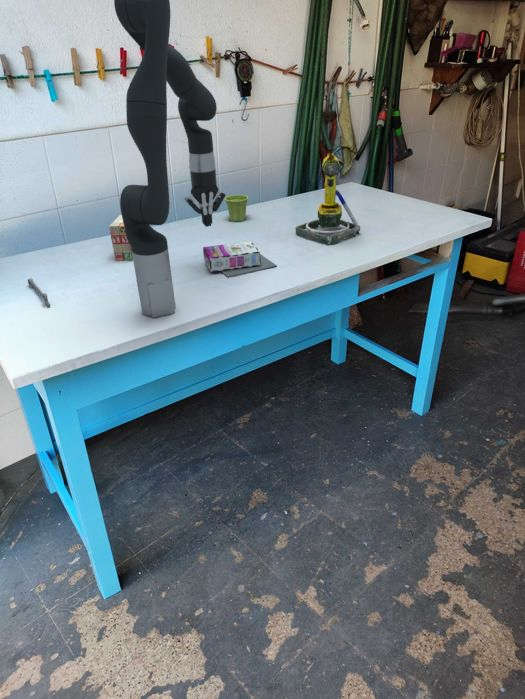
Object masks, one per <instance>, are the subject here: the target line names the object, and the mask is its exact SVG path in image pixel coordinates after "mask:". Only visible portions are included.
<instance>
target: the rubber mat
mask: <svg viewBox="0 0 525 699" xmlns="http://www.w3.org/2000/svg"><path fill="white" fill-rule="evenodd" d="M260 258H261V260H260V261H261V265H260V266H254V267H246V268H239V269H231V270H224V271H221V272H220V273H221V274H223V275H224V276H225V277H226V278H227V277H228V279H229V277H230V278H233V277H238V275H239V276H241V275H247V273H248V274H251V273H256V272H260V271H264V270H269V269H274V268H278V266H277V264H275V263H274V262H272V261H271V260H269V259H268V258H267V257H265V256H264V255H263V254H261V253H260Z"/></svg>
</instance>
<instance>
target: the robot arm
mask: <svg viewBox="0 0 525 699" xmlns="http://www.w3.org/2000/svg"><path fill="white" fill-rule="evenodd" d="M113 2H114V3H113V4H114V5H113V6H114V10H115V14H116V17H117V19H118V21H119V23H120V25H121V26H122V27H123V29H124V30H125V32H126V33H127V34H128V35H129V36H130V37H131V38H132V39H133V41H134V42H135V43H136V45H138V47H140V49H141V50H142V51H143V54H142V58H141V61H140V63H139V64H138V67H137V70H136V71H135V73H134V75H133V77H132V79H131V80H130V82H129V85H128V88H127V93H126V98H125V99H126V105H125V107H126V111H125V112H126V126H127V129H128V132H129V133H130V134H129V135H130V136H131V138H132V141H133V142H134V143H135V144H134V145H136V147H137V149H138V151H139V152H140V155H141V156H142V159H143V162H144V165H145V169H146V176H147V185H144V184H143V185H142V184H128V185H126V186H125V187H124V188H123V189H122V191H121V193H120V199H119V201H120V202H119V205H120V213H121V214H120V215H122V219H123V223H124V227H125V232H126V236H127V240H128V242H129V244H130V246H131V250H132V256H133V266H134V273H135V278H136V279H135V280H136V285H137V286H136V287H137V291H138V296H139V302H140V307H141V313H142V314H144V315H145V316H149V317H150V318H153V319H154V318H158V317H163V316H167V315H171V314H176V313H175V311H176V308H177V307H176V306H177V305H176V299H175V292H174V284H173V279H172V278H173V276H172V269H171V268H172V266H171V262H170V260H171V259H170V253H169V244H168V239H167V238H166V236H165V235H164V234H163V233H160V232H159V231H157V230H155V228H153V227H152V226H162V225H163V224H165V223H166V222H167V220H168V217H169V214H170V189H169V179H168V178H169V177H168V163H167V161H168V160H167V159H168V158H167V127H168V126H167V124H168V111H167V109H168V106H167V105H168V98H167V96H168V95H167V93H168V92H167V90H168V89H167V88H168V87H167V84H168V85H169V87H170V89H171V90H172V92H173V93H174V95H175V96H176V97H177V98H178V101H177V109H178V110H177V112H178V114H179V117H180V120H181V124H182V125H183V128H184V132H185V134H186V137H187V144H188V145H187V146H188V164H189V165H188V168H189V175H190V184H191V189H190V194H189V195H188V197H187V196H186V197H185V198H184V201H185V202H186V203H187V205H189V207H191V209H192V210H194V212H196V213H197V214H198V215H201V222H202V224H203V225H204V227H211V226H212V224H213V213H214V212H217V211H218V210H219V208H220V206H221V205H222V203H223V201H224V200H225V197H226V193H224V192H222V191H220V190H219V187H218V185H217V183H218V182H217V170H216V158H215V154H214V143H213V142H214V141H213V135H212V132H211V131H210V130H209V129H206V128H203V127H201V126H200V125H199V123H198V121H201V122H207V121H208V122H209V121H211V120H213V119H214V118H215V116H216V114H217V102H216V99H215V97H214V95H213V94H212V92H211V91H210V90H209V89H208V88H207V87H206V86H205V85H204V84H203V83H202V82H201V81H200V80H199V79H197V77H196V75H195V73H194V70H193V69H192V67H191V66H190V64H189V62H188V61H187V59H186V58H185V57H184V56H183V54H181V52H179V50H178V49H176V48H174V46H172V45H171V44H170V43H169V40H170V31H171V3H170V0H114V1H113ZM195 200H196V202H198V205H199V207H198V206H197V205H196V204H195Z"/></svg>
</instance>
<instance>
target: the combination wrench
mask: <svg viewBox="0 0 525 699" xmlns="http://www.w3.org/2000/svg"><path fill="white" fill-rule="evenodd" d="M27 284H28V286H29V287H30V288H32V289H35V291H36V292H37V293H38V294H39V295H40V296H41V298H42V299H43V300H44V302H45V305H46V307H51V303H50V302H49V299H48V295H47V294H48V293H46V292H44V293H43V291H42V290H41V288H39V286H38V285H37V284H36V282H34V280H33V278H32V277H31V278H28V279H27Z"/></svg>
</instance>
